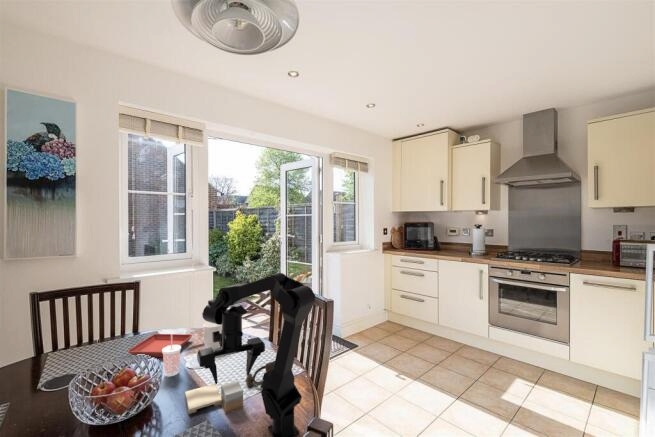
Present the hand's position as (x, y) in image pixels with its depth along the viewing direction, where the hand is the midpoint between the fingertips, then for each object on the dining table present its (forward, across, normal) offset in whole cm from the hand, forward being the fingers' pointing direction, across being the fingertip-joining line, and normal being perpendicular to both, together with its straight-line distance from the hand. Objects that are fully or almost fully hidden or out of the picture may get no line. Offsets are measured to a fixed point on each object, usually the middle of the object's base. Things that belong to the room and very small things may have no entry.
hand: (232, 379), depth 90 cm
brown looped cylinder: (+8, -13, -8) cm, 18 cm away
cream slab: (+8, +7, -7) cm, 13 cm away
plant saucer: (+8, +16, -54) cm, 57 cm away
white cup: (+8, -3, -45) cm, 46 cm away
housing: (+8, 0, 0) cm, 8 cm away
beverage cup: (+8, +14, -30) cm, 34 cm away
